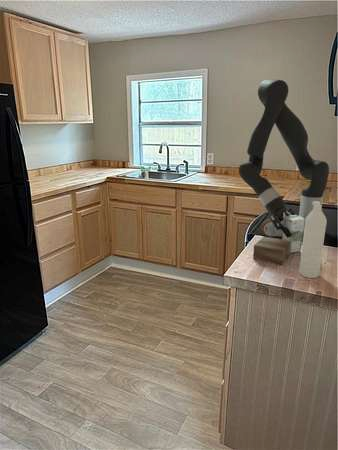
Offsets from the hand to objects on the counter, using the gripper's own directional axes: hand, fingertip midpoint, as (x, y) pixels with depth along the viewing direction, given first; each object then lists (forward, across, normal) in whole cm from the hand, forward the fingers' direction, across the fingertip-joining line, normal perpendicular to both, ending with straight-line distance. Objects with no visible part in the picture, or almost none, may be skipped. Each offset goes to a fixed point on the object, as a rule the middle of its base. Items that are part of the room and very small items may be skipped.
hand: (295, 233), depth 130 cm
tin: (-4, +11, +15) cm, 19 cm away
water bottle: (+15, -14, -4) cm, 20 cm away
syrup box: (+5, 0, +6) cm, 8 cm away
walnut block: (+3, -11, +8) cm, 14 cm away
